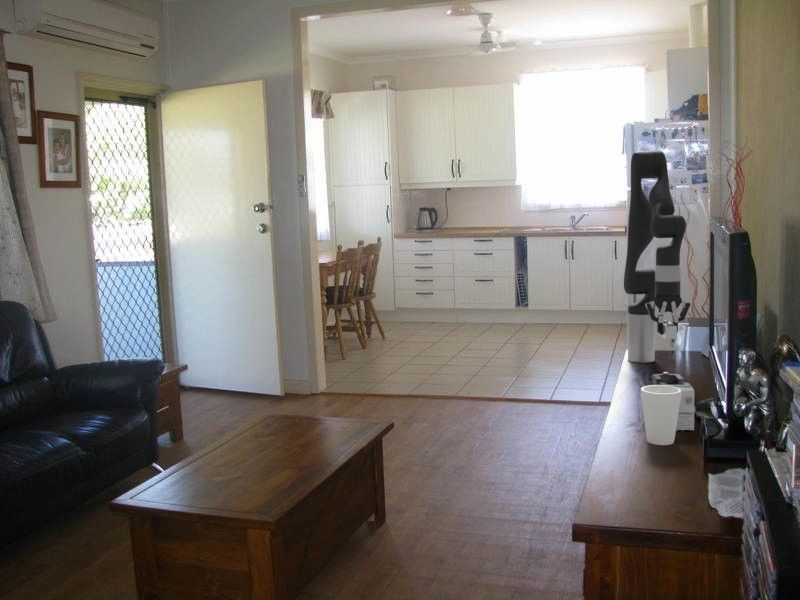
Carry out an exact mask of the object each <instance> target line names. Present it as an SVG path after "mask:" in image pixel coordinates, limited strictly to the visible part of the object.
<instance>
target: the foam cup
mask: <svg viewBox="0 0 800 600" xmlns="http://www.w3.org/2000/svg"><path fill="white" fill-rule="evenodd" d="M648 385H649V386H648ZM648 385H644V386H642V387H641V388H640V399H641V405H642V406H641V407H642V412H643V418H644V419H643V421H644V429H645V436H646V442H647V443H649V444H652V445H656V446H670V445H673V444H674V443H675V438H676V433H677V431H676V427H677V420H678V414H679V407H680V401H681V396H682V390H681V389H680V388H677V387H674V386H667V385H668V384H667V385H653V384H648Z"/></svg>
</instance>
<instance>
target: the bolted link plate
mask: <svg viewBox="0 0 800 600" xmlns="http://www.w3.org/2000/svg"><path fill="white" fill-rule="evenodd" d="M662 323H663V335H660V334H659V333H658V335H659V336H661V338H663V339H664V340H677V339H678V338H677V337H678V336H677V335H678V332H677V326H676V325H674V324H672V322H671V321H668V320H662Z"/></svg>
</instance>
